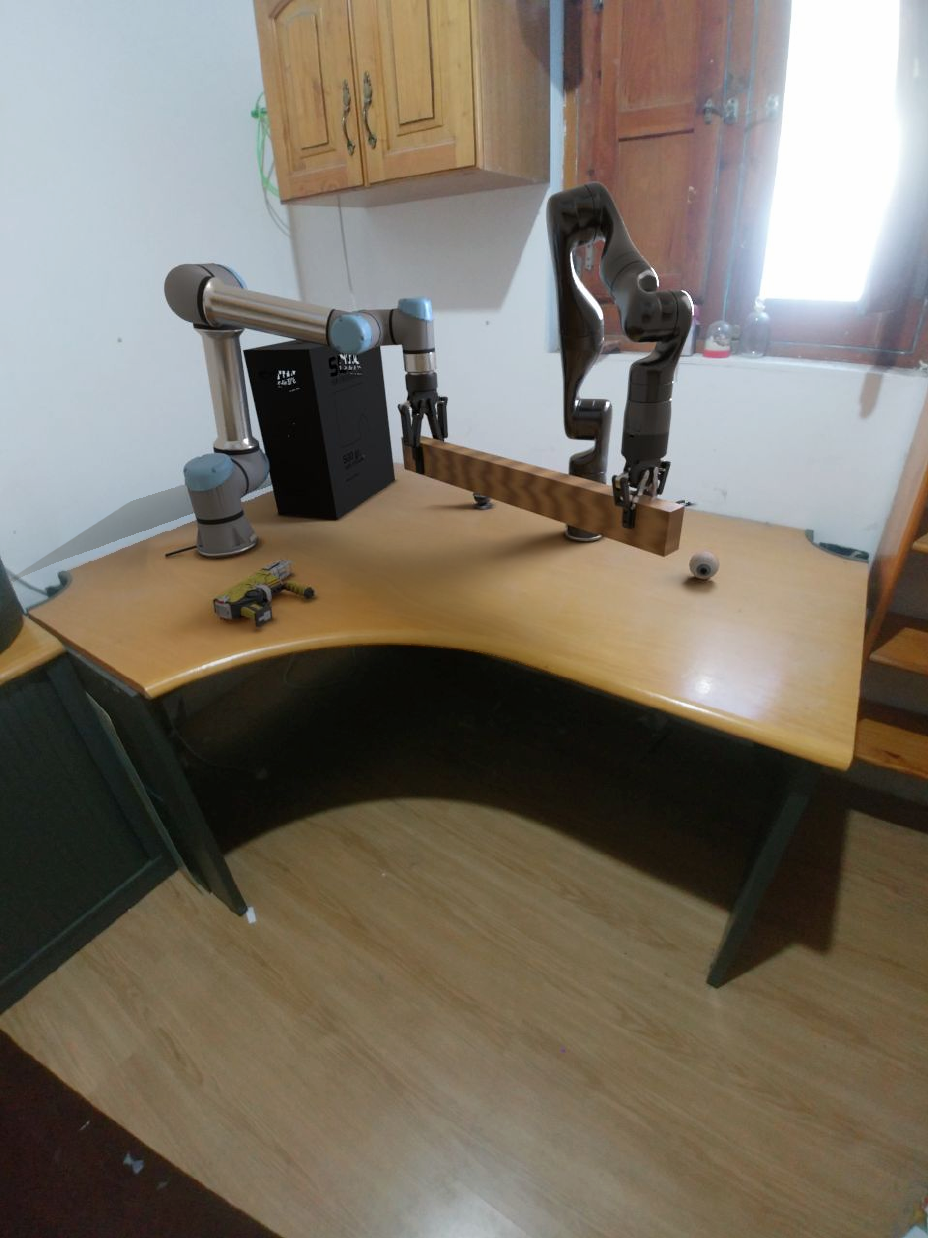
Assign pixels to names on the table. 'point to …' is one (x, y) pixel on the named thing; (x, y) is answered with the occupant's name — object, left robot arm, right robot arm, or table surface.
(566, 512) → the bar
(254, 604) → the toy gun
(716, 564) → the eyeball
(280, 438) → the cardboard box
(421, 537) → the table surface
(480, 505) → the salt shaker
